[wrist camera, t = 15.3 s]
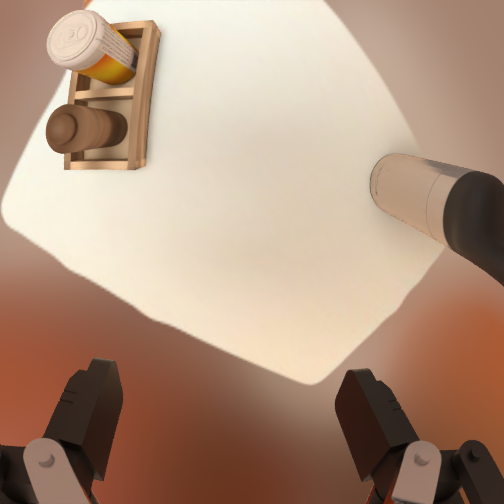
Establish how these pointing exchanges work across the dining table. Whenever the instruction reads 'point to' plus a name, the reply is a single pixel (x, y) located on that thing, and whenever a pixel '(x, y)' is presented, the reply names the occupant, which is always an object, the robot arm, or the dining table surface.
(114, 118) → the caddy
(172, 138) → the dining table surface
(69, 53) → the beer can
